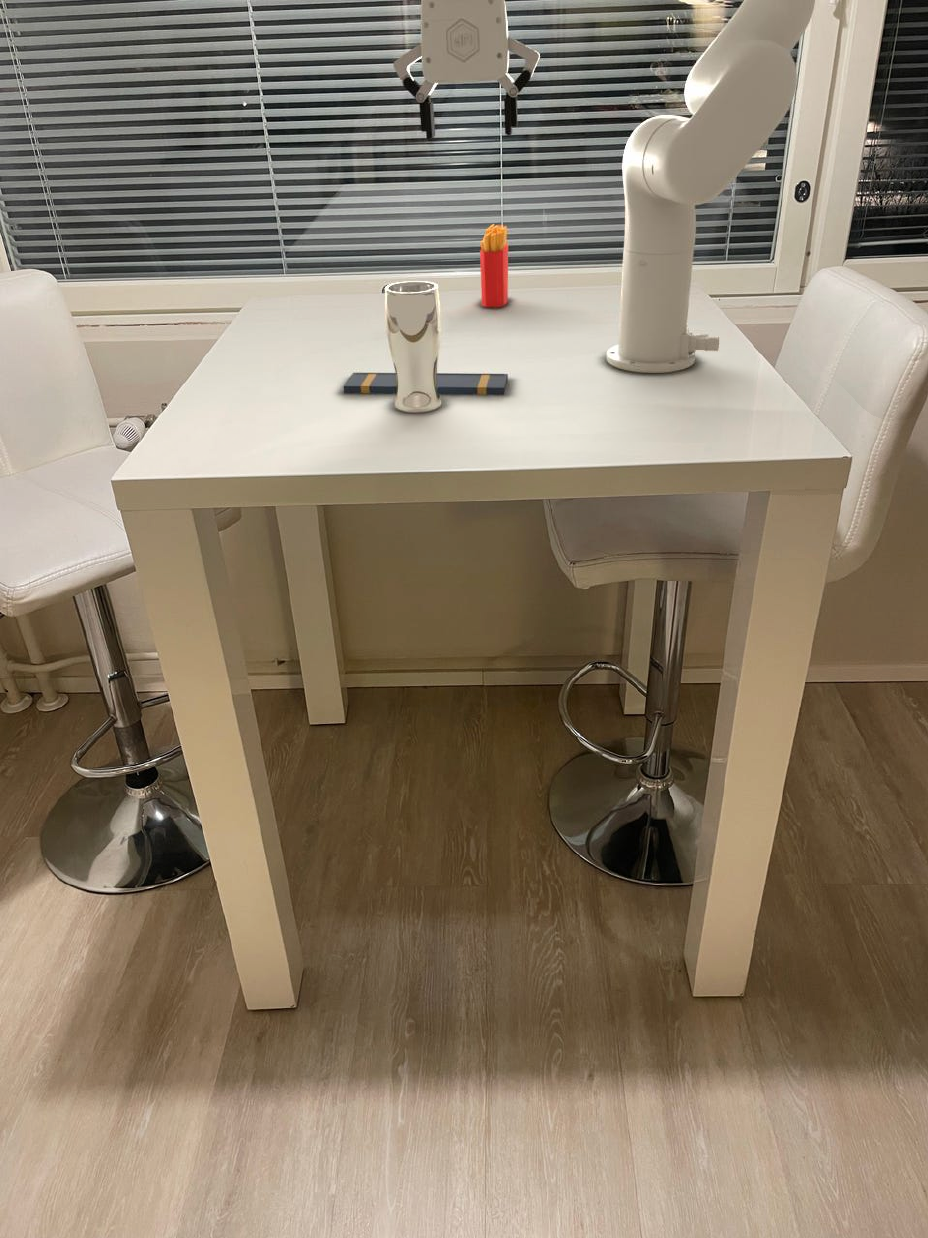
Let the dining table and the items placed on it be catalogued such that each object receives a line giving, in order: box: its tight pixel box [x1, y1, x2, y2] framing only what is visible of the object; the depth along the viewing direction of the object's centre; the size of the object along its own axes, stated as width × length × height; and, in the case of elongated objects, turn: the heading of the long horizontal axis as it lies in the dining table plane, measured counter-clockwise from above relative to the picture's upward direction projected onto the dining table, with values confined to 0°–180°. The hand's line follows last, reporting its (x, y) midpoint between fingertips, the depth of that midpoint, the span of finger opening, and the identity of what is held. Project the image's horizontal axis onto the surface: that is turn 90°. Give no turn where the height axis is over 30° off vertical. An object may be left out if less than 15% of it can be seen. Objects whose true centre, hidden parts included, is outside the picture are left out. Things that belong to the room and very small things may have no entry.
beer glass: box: [384, 280, 442, 414], centre depth 120 cm, size 7×7×15 cm
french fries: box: [479, 223, 509, 308], centre depth 167 cm, size 9×4×13 cm, turn 168°
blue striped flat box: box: [343, 372, 509, 396], centre depth 130 cm, size 22×6×1 cm, turn 83°
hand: (469, 135), depth 116 cm, fingers open, 9 cm apart
